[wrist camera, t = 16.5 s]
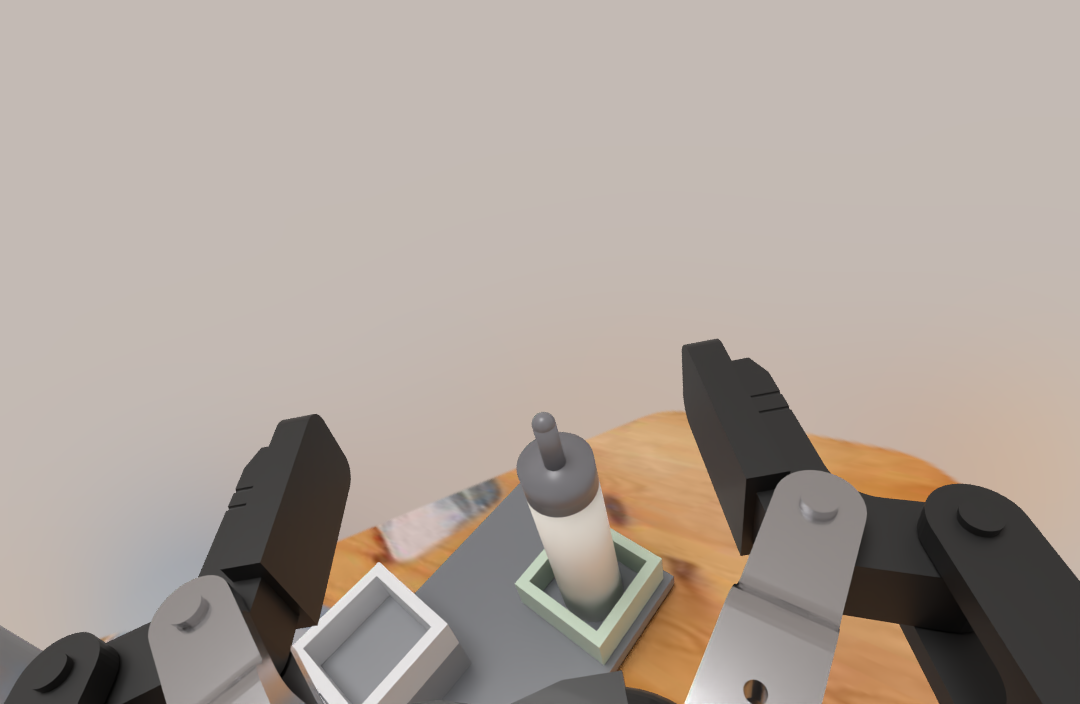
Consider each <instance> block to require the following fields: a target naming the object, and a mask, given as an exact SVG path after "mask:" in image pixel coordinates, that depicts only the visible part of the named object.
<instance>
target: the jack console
mask: <svg viewBox="0 0 1080 704" xmlns="http://www.w3.org/2000/svg"><path fill="white" fill-rule="evenodd" d="M610 531H611V535H612V540H613V544H614V549H615V553H616V557H617V562H618V566H619V571H620V575H621V580H622V584H623V595H622V597H621V598H620V599H619V601H618V602H617V604H616V605H615V606H614V608H613V609H612V611H611V612H610V613H609V615H608V616H607V618H606V619H604V620H601V621H596V622H588V621H583V620H581V619H580V618H578V617H577V616H576V615H574V614H573V613H571V612H570V611H569V610H568V609H567V608H566V605H565V603H564V601H563V598H562V595H561V592H560V590H559V587H558V584H557V581H556V579H555V576H554V573H553V570H552V568H551V565H550V562H549V560H548V557H547V554H546V551H545V549H544V546H543V543H542V540H541V538H540V535H539V532H538V530H537V527H536V524H535V521H534V519H533V516H532V513H531V510H530V508H529V505H528V502H527V499H526V497H525V494H524V491H523V489H522V486H521V483H520V484H519V485H518V486H517V487H516V488H515V489H514V490H513V491H512V492H511V493H510V494H509V495H508V496H507V497H506V498H505V499H504V500H503V501H502V502H501V504H500V505H499V506H498V507H497V508H496V509H495V510H494V511H493V512H492V513H491V514H490V515H489V516H488V517H487V518H486V519H485V520H484V521H483V522H482V523H481V524H480V526H479V527H478V528H477V529H476V530H475V531H474V532H473V533H472V534H471V535H470V536H469V537H468V538H467V539H466V540H465V541H464V542H463V543H462V544H461V545H460V546H459V548H458V549H457V550H456V551H455V552H454V553H453V554H452V555H451V556H450V557H449V558H448V559H447V560H446V561H445V562H444V563H443V564H442V565H441V566H440V567H439V569H438V570H437V571H436V572H435V573H434V574H433V575H432V576H431V577H430V578H429V579H428V580H427V581H426V582H425V583H424V584H423V585H422V586H421V587H420V588H419V589H418V591H417V592H416V593H415V594H414V593H413V592H412V591H411V590H409V589H408V588H407V587H406V586H405V585H404V584H403V583H402V582H401V581H399V580H398V579H397V578H396V577H395V576H394V575H393V574H392V573H391V572H389V571H388V570H387V569H386V568H385V567H384V566H383V565H382V564H381V563H380V562H378V563H377V564H376V565H375V566H374V567H373V568H372V569H371V570H370V571H369V572H368V573H367V574H366V575H365V576H364V577H363V578H362V579H361V580H360V581H359V582H358V583H357V584H356V585H355V586H354V587H353V588H352V589H350V590H349V591H348V592H347V593H346V594H345V595H344V596H343V597H342V598H341V599H340V600H339V601H338V602H337V603H336V604H335V605H334V606H333V607H332V608H331V609H330V610H329V611H328V612H327V613H326V614H325V615H324V616H323V617H322V618H321V619H320V620H319V622H318V626H312V627H311V628H310V629H309V630H308V631H307V632H306V633H305V634H304V635H303V636H302V637H301V638H300V639H299V640H298V641H297V642H296V643H295V644H294V645H293V647H294V648H295V649H296V651H297V653H298V655H299V657H300V658H301V660H302V662H303V664H304V666H305V668H306V670H307V672H308V674H309V676H310V678H311V680H312V682H313V684H314V686H315V687H316V688H317V689H318V691H319V692H320V693H319V695H320V696H321V697H322V699H323V700H324V701H325V702H326V704H415V703H421V702H427V701H434V700H446V701H452V702H459V703H466V704H511V703H513V702H516V701H518V700H520V699H522V698H524V697H526V696H528V695H531V694H533V693H535V692H537V691H539V690H541V689H544V688H546V687H548V686H550V685H552V684H554V683H556V682H559V681H561V680H565V679H571V678H578V677H584V676H590V675H596V674H603V673H609V672H615V671H617V669H618V668H619V666H620V665H621V663H622V662H623V660H624V659H625V657H626V656H627V654H628V653H629V651H630V650H631V648H632V647H633V645H634V644H635V642H636V641H637V639H638V638H639V636H640V635H641V633H642V632H643V630H644V629H645V627H646V626H647V624H648V623H649V621H650V620H651V618H652V617H653V615H654V614H655V612H656V611H657V609H658V608H659V606H660V605H661V603H662V602H663V600H664V599H665V597H666V596H667V594H668V593H669V591H670V590H671V588H672V587H673V585H674V576H672V575H670V574H669V573H667V572H665V571H664V570H663V567H662V559H661V558H660V557H658V556H656V555H655V554H653V553H651V552H650V551H648V550H646V549H645V548H643V547H641V546H640V545H638V544H636V543H635V542H633V541H631V540H629V539H628V538H626V537H624V536H623V535H621V534H619V533H618V532H616V531H614V530H613V529H611V528H610Z"/></svg>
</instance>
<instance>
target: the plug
mask: <svg viewBox="0 0 1080 704" xmlns="http://www.w3.org/2000/svg"><path fill="white" fill-rule="evenodd" d="M532 428H533V432H534V435H535V438H536V439H535V440H534V441H532V442H531V443H529V444H528V445H527V446H526V447H525V449H524V450H523V451H522V453H521V454H520V456H519V458H518V461H517V475H518V478H519V480H520V483H521V486H522V489H523V491H524V494H525V497H526V499H527V502H528V505H529V508H530V510H531V513H532V516H533V519H534V521H535V524H536V527H537V530H538V532H539V535H540V538H541V540H542V543H543V546H544V549H545V551H546V554H547V557H548V560H549V562H550V565H551V568H552V570H553V573H554V576H555V579H556V581H557V584H558V587H559V590H560V592H561V595H562V598H563V601H564V603H565V605H566V608H567V609H568V610H569V611H570V612H571V613H573V614H574V615H576V616H577V617H578V618H580V619H581V620H583V621H588V622H596V621H601V620H604V619H606V618H607V616H608V615H609V613H610V612H611V611H612V609H613V608H614V606H615V605H616V604H617V602H618V601H619V599H620V598H621V597H622V595H623V584H622V580H621V575H620V571H619V566H618V562H617V557H616V553H615V549H614V544H613V540H612V535H611V531H610V526H609V522H608V517H607V513H606V508H605V504H604V499H603V495H602V490H601V486H600V482H599V477H598V473H597V468H596V464H595V459H594V455H593V451H592V449H591V447H590V445H589V444H588V443H587V442H586V441H585V440H584V439H583V438H581V437H579V436H577V435H575V434H571V433H565V432H558V429H557V426H556V422H555V419H554V417H553V416H552V415H551V414H549V413H547V412H541V413H538V414H537V415H535V417H534V418H533V420H532Z"/></svg>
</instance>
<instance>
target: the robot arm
mask: <svg viewBox="0 0 1080 704" xmlns="http://www.w3.org/2000/svg"><path fill="white" fill-rule="evenodd" d="M682 367H683V368H682V370H683V398H684V405H685V411H686V415H687V419H688V422H689V425H690V427H691V430H692V433H693V435H694V438H695V440H696V443H697V445H698V448H699V451H700V453H701V456H702V458H703V461H704V463H705V466H706V468H707V471H708V474H709V476H710V479H711V481H712V484H713V486H714V489H715V491H716V494H717V497H718V499H719V502H720V504H721V507H722V509H723V512H724V515H725V517H726V520H727V522H728V525H729V527H730V530H731V532H732V535H733V538H734V540H735V543H736V545H737V548H738V550H739V553H740V555H741V556H743V555H749V554H750V555H749V558H748V561H747V563H746V566H745V568H744V571H743V573H742V576H741V578H740V580H739V582H738V583H737V584H734V585H733V586H732V588H731V589H730V591H729V593H728V596H727V598H726V600H725V603H724V605H723V608H722V610H721V613H720V615H719V618H718V620H717V623H716V625H715V628H714V630H713V633H712V636H711V638H710V641H709V643H708V646H707V648H706V651H705V653H704V656H703V658H702V661H701V663H700V666H699V668H698V671H697V674H696V676H695V679H694V681H693V684H692V686H691V689H690V691H689V694H688V696H687V699H686V701H685V704H822V701H823V697H824V693H825V689H826V685H827V681H828V676H829V672H830V668H831V664H832V660H833V656H834V652H835V648H836V644H837V640H838V635H839V630H840V629H839V628H840V623H841V619H842V615H848V616H854V617H860V618H866V619H872V620H879V621H885V622H891V623H897V624H899V625H900V627H901V629H902V631H903V633H904V635H905V637H906V639H907V641H908V643H909V645H910V647H911V649H912V650H913V652H914V654H915V656H916V658H917V660H918V662H919V664H920V666H921V668H922V670H923V672H924V674H925V676H926V678H927V680H928V682H929V684H930V686H931V688H932V690H933V692H934V694H935V696H936V698H937V700H938V702H939V704H1080V581H1079V580H1078V578H1077V577H1076V576H1075V575H1074V574H1073V572H1072V571H1071V570H1070V568H1069V567H1068V566H1067V565H1066V563H1065V562H1064V561H1063V560H1062V558H1061V557H1060V556H1059V555H1058V554H1057V552H1056V551H1055V550H1054V548H1053V547H1052V546H1051V545H1050V543H1049V542H1048V541H1047V540H1046V538H1045V537H1044V536H1043V535H1042V533H1041V532H1040V531H1039V530H1038V528H1037V527H1036V526H1035V525H1034V524H1033V522H1032V521H1031V520H1030V518H1029V517H1028V516H1027V515H1026V514H1025V513H1024V512H1023V510H1022V509H1021V508H1020V507H1018V506H1017V505H1016V504H1015V503H1013V502H1012V501H1011V500H1009V499H1007V498H1006V497H1004V496H1002V495H1000V494H998V493H997V492H994V491H992V490H989V489H986V488H983V487H980V486H975V485H970V484H950V485H945V486H942V487H940V488H938V489H936V490H934V491H933V492H932V493H931V494H930V495H929V496H928V498H927V500H926V502H918V501H908V500H899V499H889V498H881V497H874V496H870V495H867V494H863V493H861V492H858V491H857V490H856V489H855V488H854V487H853V486H852V485H851V484H849V483H848V482H847V481H845V480H844V479H842V478H840V477H838V476H836V475H833V474H831V473H830V472H829V471H828V469H827V468H826V466H825V465H824V463H823V462H822V460H821V458H820V457H819V455H818V453H817V452H816V450H815V448H814V447H813V445H812V443H811V442H810V440H809V438H808V437H807V435H806V433H805V432H804V430H803V428H802V427H801V425H800V423H799V422H798V420H797V419H796V417H795V415H794V414H793V412H792V410H790V409H789V406H788V404H787V402H786V400H785V399H784V397H783V395H782V394H780V390H779V389H778V387H777V385H776V384H775V382H774V380H773V379H772V377H771V375H770V374H769V372H768V371H766V370H765V369H764V368H762V367H761V366H760V365H758V364H757V363H755V362H754V361H753V360H751V359H750V358H744V359H739V360H734V361H731V359H730V357H729V355H728V353H727V352H726V350H725V348H724V346H723V344H722V342H721V341H720V340H719V339H713V340H708V341H702V342H697V343H692V344H687V345H683V347H682ZM350 477H351V476H350V468H349V464H348V461H347V459H346V457H345V455H344V453H343V452H342V450H341V448H340V447H339V445H338V443H337V442H336V440H335V438H334V437H333V435H332V434H331V432H330V430H329V429H328V427H327V425H326V424H325V422H324V420H323V419H322V418H321V417H320V416H319V415H317V414H312V415H307V416H302V417H297V418H291V419H286V420H282V421H281V422H280V423H279V424H278V425H277V428H276V430H275V432H274V435H273V437H272V440H271V443H270V445H269V447H264V448H261V449H260V450H259V451H258V453H257V454H256V455H255V456H254V457H253V459H252V460H251V461H250V462H249V463H248V465H247V466H246V467H245V468H244V470H243V473H242V475H241V478H240V480H239V482H238V484H237V487H236V493H234V494H233V496H232V499H231V501H230V504H229V506H228V507H229V510H228V511H226V513H225V515H224V518H223V520H222V522H221V525H220V527H219V529H218V532H217V534H216V536H215V539H214V541H213V543H212V546H211V548H210V551H209V553H208V555H207V558H206V560H205V562H204V565H203V568H202V569H201V572H200V574H199V576H198V578H195V579H193V580H191V581H189V582H187V583H185V584H184V585H182V586H180V587H179V588H178V589H177V590H175V591H174V592H173V593H172V594H171V595H170V596H169V597H167V599H166V600H165V601H164V602H163V603H162V604H161V606H160V607H159V608H158V610H157V611H156V613H155V615H154V617H153V619H152V621H151V622H150V623H148V624H145V625H143V626H141V627H139V628H137V629H135V630H133V631H131V632H128V633H126V634H124V635H122V636H120V637H118V638H116V639H114V640H111V641H109V642H107V643H105V642H103V641H102V640H101V639H99V638H98V637H96V636H95V635H93V634H91V633H87V632H80V633H75V634H72V635H69V636H66V637H64V638H62V639H60V640H58V641H56V642H55V643H53V644H52V645H51V646H49V647H47V648H46V649H45V650H44V651H42V650H40V649H39V648H37V647H35V646H34V645H32V644H30V643H29V642H27V641H25V640H24V639H22V638H20V637H19V636H17V635H15V634H14V633H12V632H10V631H9V630H7V629H5V628H4V627H2V626H0V704H324V703H323V701H322V699H321V697H320V695H319V693H318V691H317V689H316V688H315V686H314V684H313V682H312V680H311V678H310V676H309V674H308V672H307V670H306V668H305V666H304V664H303V662H302V660H301V658H300V657H299V655H298V653H297V651H296V649H295V648H294V647H293V646H292V642H293V637H294V633H295V630H296V629H300V628H306V627H312V626H318V622H319V618H320V614H321V609H322V605H323V601H324V596H325V592H326V588H327V583H328V579H329V575H330V570H331V566H332V562H333V557H334V553H335V549H336V544H337V540H338V536H339V531H340V527H341V522H342V518H343V514H344V509H345V505H346V500H347V496H348V492H349V487H350V480H351V478H350ZM415 704H466V703H459V702H452V701H446V700H434V701H427V702H421V703H415ZM511 704H676V703H675V702H673V701H671V700H669V699H667V698H664V697H662V696H660V695H658V694H655V693H652V692H648V691H645V690H641V689H636V688H629V687H625V682H624V678H623V673H622V670H621V671H615V672H609V673H603V674H596V675H590V676H584V677H578V678H571V679H565V680H561V681H559V682H556V683H554V684H552V685H550V686H548V687H546V688H544V689H541V690H539V691H537V692H535V693H533V694H531V695H528V696H526V697H524V698H522V699H520V700H518V701H516V702H513V703H511Z"/></svg>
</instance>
